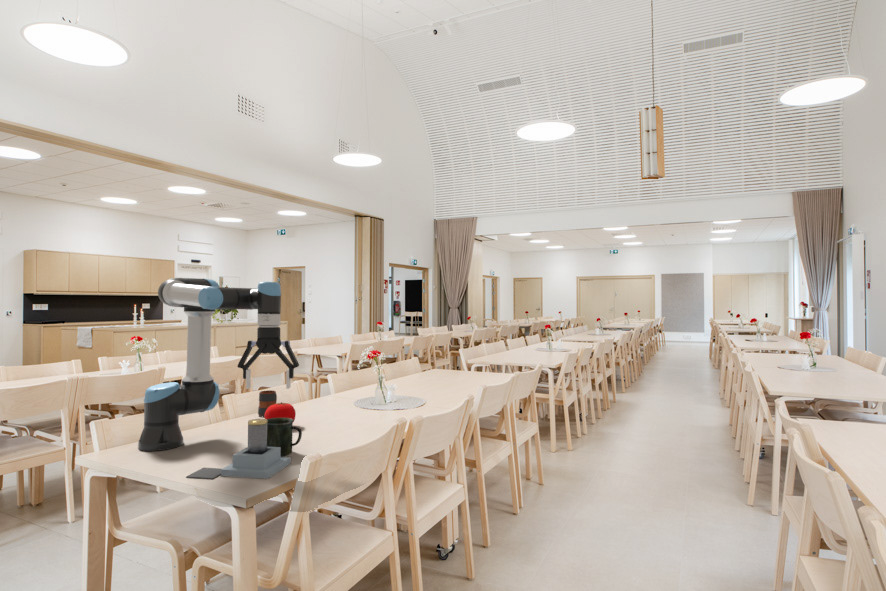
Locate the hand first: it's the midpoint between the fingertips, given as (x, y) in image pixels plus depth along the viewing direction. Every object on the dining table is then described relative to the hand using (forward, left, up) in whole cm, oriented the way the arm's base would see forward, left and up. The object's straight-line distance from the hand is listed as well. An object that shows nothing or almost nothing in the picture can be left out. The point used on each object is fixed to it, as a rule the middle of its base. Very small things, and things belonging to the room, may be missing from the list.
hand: (268, 388), depth 176 cm
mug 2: (-36, +72, -26) cm, 85 cm away
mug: (0, +11, -26) cm, 28 cm away
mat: (-13, -14, -26) cm, 32 cm away
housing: (0, -7, -26) cm, 26 cm away
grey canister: (0, -7, -24) cm, 25 cm away
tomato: (-19, +49, -26) cm, 59 cm away
